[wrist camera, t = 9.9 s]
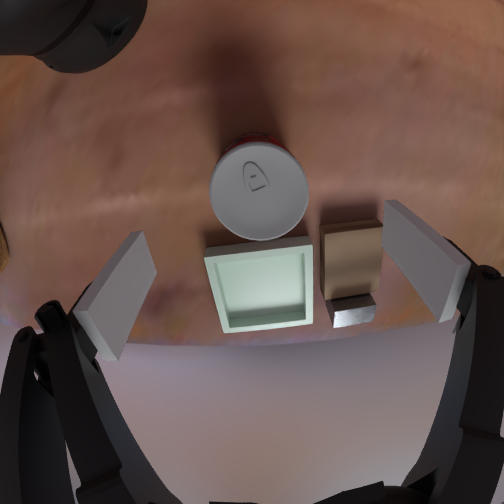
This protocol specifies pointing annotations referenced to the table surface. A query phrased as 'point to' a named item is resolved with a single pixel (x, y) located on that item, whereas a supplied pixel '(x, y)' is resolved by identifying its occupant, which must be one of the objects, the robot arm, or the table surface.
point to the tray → (262, 283)
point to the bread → (3, 251)
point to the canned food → (258, 188)
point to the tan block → (350, 258)
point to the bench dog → (351, 310)
